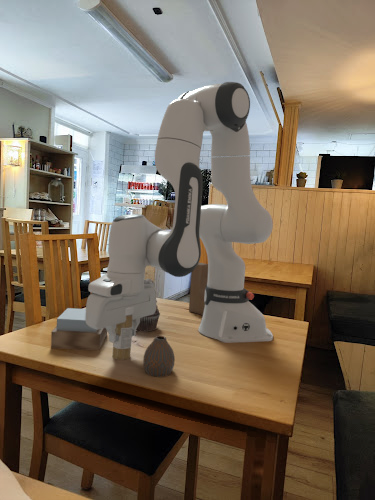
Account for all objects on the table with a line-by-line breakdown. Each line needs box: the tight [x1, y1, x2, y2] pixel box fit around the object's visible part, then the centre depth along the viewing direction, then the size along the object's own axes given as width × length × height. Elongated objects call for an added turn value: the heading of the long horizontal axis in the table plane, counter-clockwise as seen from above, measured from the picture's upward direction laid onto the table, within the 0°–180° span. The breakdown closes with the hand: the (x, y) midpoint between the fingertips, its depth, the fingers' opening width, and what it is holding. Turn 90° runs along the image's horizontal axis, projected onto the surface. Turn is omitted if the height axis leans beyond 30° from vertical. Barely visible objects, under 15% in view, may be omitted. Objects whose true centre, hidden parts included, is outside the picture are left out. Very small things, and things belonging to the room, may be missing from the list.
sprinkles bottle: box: [111, 306, 134, 361], centre depth 89 cm, size 5×5×14 cm
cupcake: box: [136, 299, 161, 333], centre depth 113 cm, size 10×10×10 cm
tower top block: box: [56, 307, 98, 332], centre depth 98 cm, size 10×10×3 cm
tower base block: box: [50, 325, 108, 351], centre depth 98 cm, size 12×12×5 cm
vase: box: [142, 335, 176, 378], centre depth 82 cm, size 7×7×9 cm
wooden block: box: [188, 262, 208, 316], centre depth 134 cm, size 9×4×18 cm, turn 51°
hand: (122, 338), depth 89 cm, fingers closed on sprinkles bottle, 4 cm apart
